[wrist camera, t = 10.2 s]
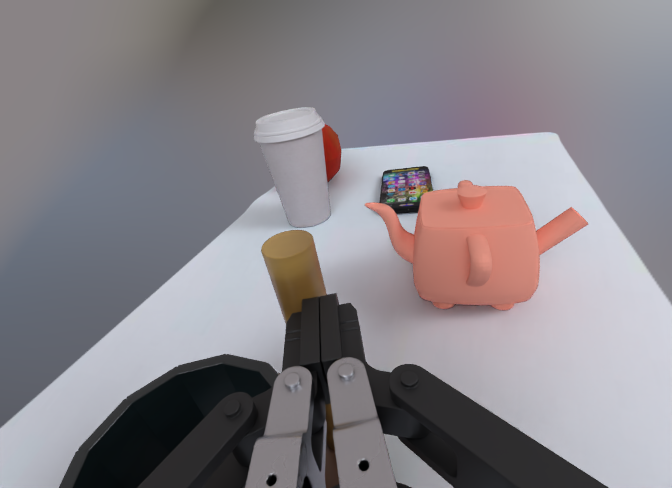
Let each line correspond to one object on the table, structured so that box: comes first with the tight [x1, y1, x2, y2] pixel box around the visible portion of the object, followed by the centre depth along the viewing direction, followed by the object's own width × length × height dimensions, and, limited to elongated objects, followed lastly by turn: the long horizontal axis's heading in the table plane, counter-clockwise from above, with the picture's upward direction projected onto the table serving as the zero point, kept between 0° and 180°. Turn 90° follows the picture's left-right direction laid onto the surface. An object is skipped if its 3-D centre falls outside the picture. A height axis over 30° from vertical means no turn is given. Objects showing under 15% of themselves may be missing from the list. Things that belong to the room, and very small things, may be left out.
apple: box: [322, 124, 341, 182], centre depth 62 cm, size 10×10×12 cm
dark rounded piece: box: [59, 230, 339, 488], centre depth 16 cm, size 18×18×15 cm
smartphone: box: [380, 166, 433, 213], centre depth 55 cm, size 8×1×15 cm
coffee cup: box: [254, 107, 331, 227], centre depth 49 cm, size 10×10×15 cm
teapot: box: [365, 180, 588, 310], centre depth 32 cm, size 14×12×10 cm
